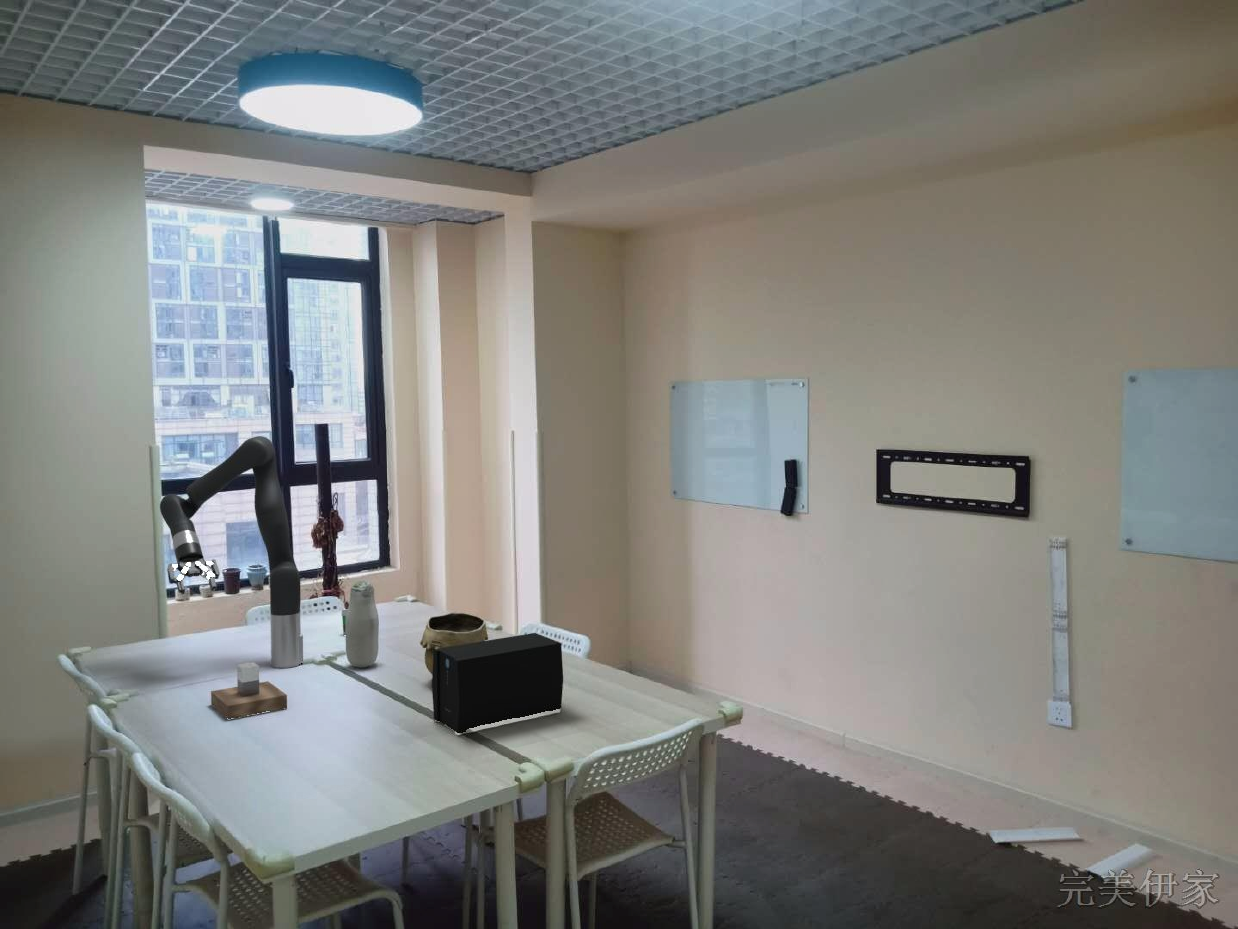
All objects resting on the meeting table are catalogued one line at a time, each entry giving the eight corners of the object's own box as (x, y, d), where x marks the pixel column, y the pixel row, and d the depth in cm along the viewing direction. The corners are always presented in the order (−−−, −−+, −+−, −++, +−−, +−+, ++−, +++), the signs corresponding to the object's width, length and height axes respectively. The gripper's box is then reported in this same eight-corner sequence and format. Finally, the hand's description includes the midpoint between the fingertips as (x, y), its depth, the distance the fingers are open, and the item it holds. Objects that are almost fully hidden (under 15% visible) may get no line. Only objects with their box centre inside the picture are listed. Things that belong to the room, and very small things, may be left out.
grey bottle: (340, 669, 307) (339, 583, 305) (359, 661, 317) (359, 577, 315) (365, 672, 303) (364, 585, 301) (384, 664, 313) (384, 580, 311)
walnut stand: (268, 694, 280) (268, 681, 280) (287, 708, 268) (286, 695, 268) (211, 705, 270) (211, 691, 270) (228, 720, 258) (227, 706, 258)
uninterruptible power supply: (432, 720, 260) (431, 648, 259) (537, 697, 280) (537, 631, 279) (459, 737, 247) (459, 662, 246) (568, 713, 267) (568, 643, 265)
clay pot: (500, 686, 291) (500, 621, 289) (434, 697, 280) (434, 630, 278) (474, 669, 308) (474, 608, 307) (411, 678, 298) (410, 615, 296)
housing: (254, 689, 272) (253, 662, 271) (259, 693, 268) (258, 665, 268) (237, 692, 269) (237, 664, 269) (242, 696, 266) (242, 668, 265)
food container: (357, 638, 346) (356, 611, 345) (341, 637, 347) (341, 610, 347) (372, 630, 358) (372, 603, 357) (357, 629, 359) (357, 603, 359)
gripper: (164, 543, 289) (175, 586, 281) (213, 539, 298) (225, 581, 290) (160, 558, 294) (171, 601, 286) (209, 553, 303) (220, 595, 295)
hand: (198, 591), depth 288 cm, fingers open, 8 cm apart
